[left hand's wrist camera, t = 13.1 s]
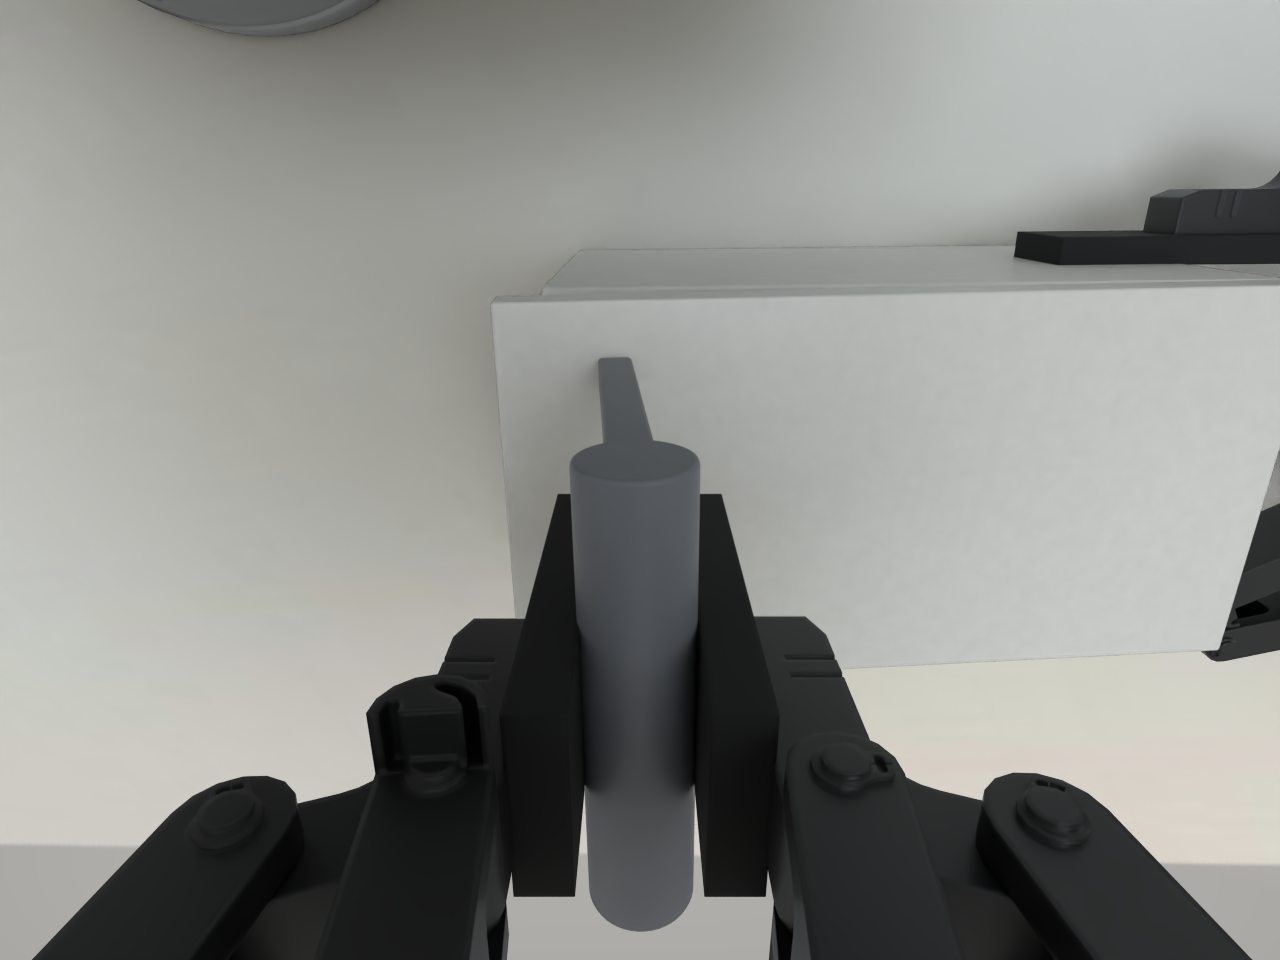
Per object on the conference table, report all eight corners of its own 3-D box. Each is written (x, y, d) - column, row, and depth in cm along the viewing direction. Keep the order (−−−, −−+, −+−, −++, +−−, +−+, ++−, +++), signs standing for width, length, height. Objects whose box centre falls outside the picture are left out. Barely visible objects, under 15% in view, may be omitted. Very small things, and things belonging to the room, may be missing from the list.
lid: (523, 662, 20) (481, 994, 12) (494, 295, 16) (407, 400, 8) (1191, 630, 21) (1579, 913, 13) (1290, 279, 17) (1902, 358, 9)
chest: (588, 485, 31) (560, 633, 21) (578, 249, 28) (540, 287, 18) (1008, 481, 31) (1191, 628, 21) (1048, 244, 28) (1290, 278, 17)
